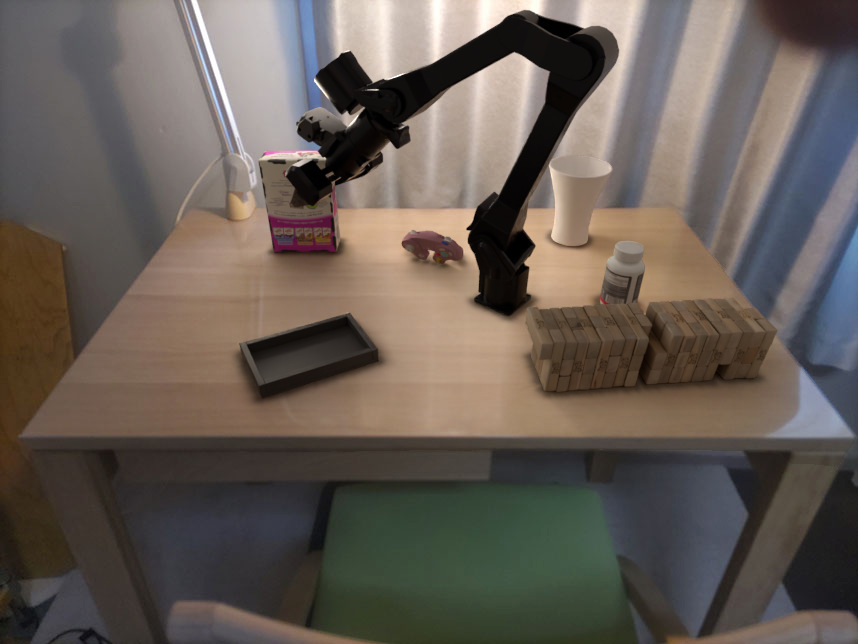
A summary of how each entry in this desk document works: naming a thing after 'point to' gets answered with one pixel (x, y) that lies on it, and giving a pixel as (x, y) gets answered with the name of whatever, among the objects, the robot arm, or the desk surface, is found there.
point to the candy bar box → (299, 224)
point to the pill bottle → (623, 274)
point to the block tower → (647, 343)
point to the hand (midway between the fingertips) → (311, 194)
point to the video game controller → (432, 246)
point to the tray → (307, 354)
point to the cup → (576, 195)
